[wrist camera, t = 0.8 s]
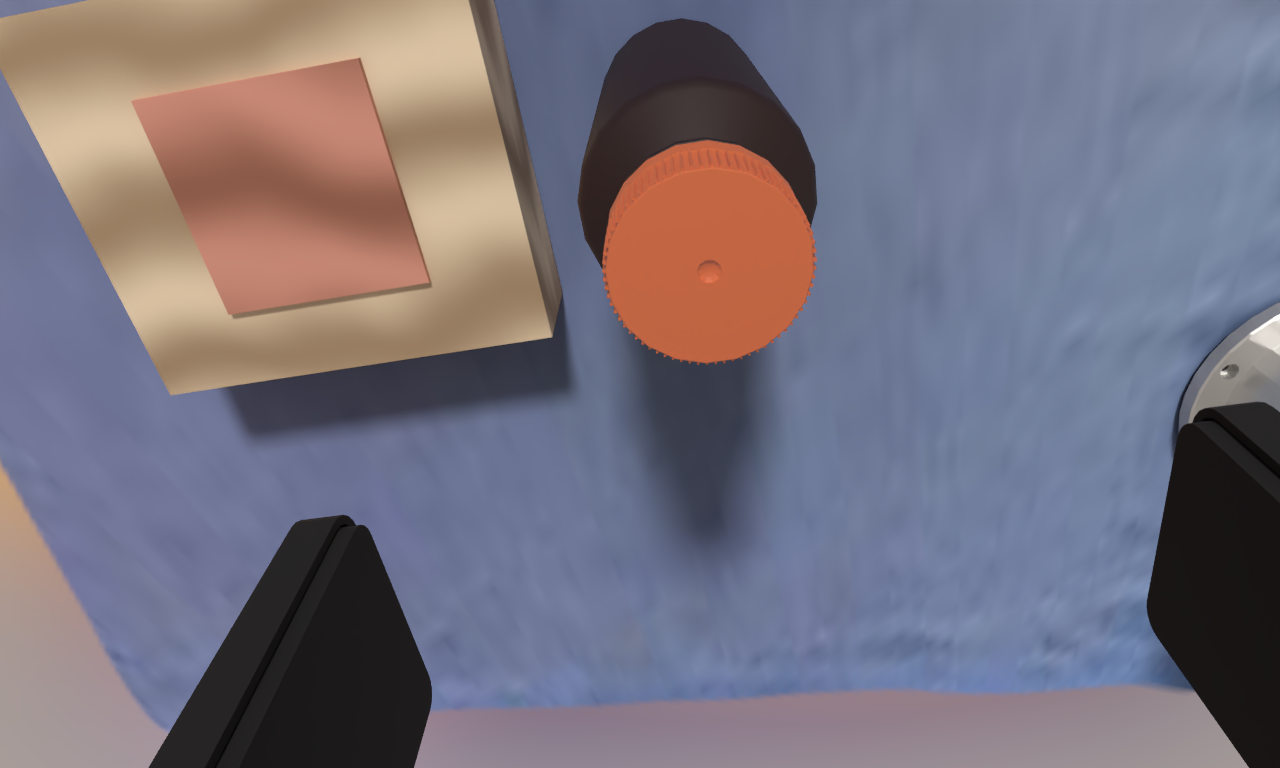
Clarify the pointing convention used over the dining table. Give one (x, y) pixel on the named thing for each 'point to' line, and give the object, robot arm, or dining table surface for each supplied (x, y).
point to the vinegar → (697, 196)
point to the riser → (293, 177)
